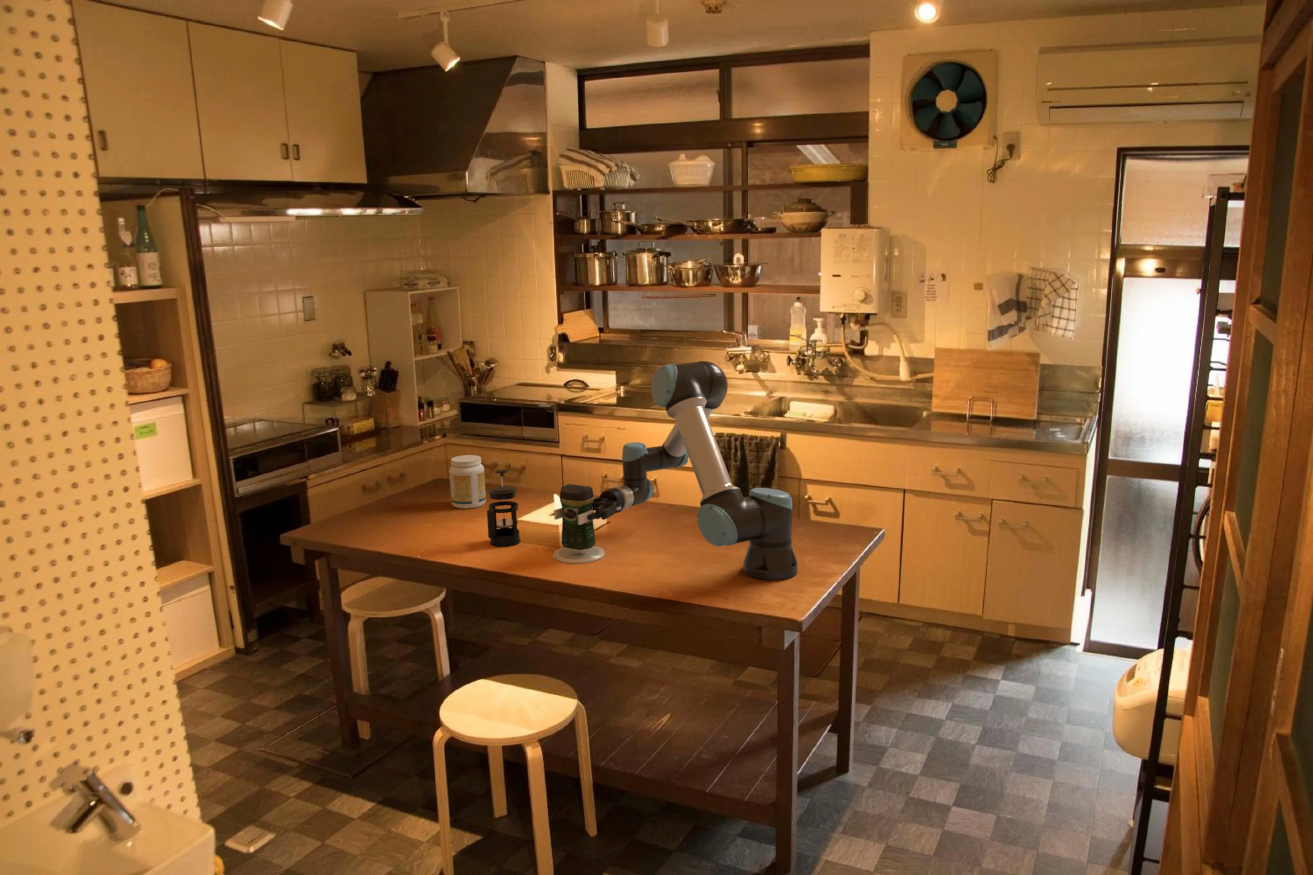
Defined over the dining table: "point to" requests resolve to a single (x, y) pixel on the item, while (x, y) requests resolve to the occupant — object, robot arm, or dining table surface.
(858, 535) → the dining table surface
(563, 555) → the grey plate
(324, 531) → the dining table surface
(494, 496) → the french press
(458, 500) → the supplement tub
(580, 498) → the coffee jar
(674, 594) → the dining table surface
